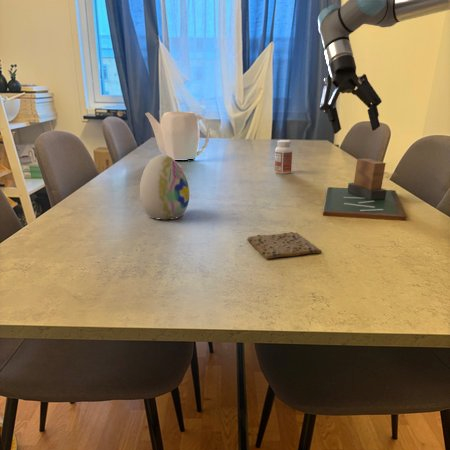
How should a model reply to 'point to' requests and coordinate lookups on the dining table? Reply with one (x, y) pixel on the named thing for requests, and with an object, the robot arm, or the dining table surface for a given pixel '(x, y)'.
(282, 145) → the pill bottle
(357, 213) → the chalkboard
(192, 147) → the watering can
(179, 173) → the decorative egg
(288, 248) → the cookie
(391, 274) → the dining table surface
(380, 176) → the eraser
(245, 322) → the dining table surface
